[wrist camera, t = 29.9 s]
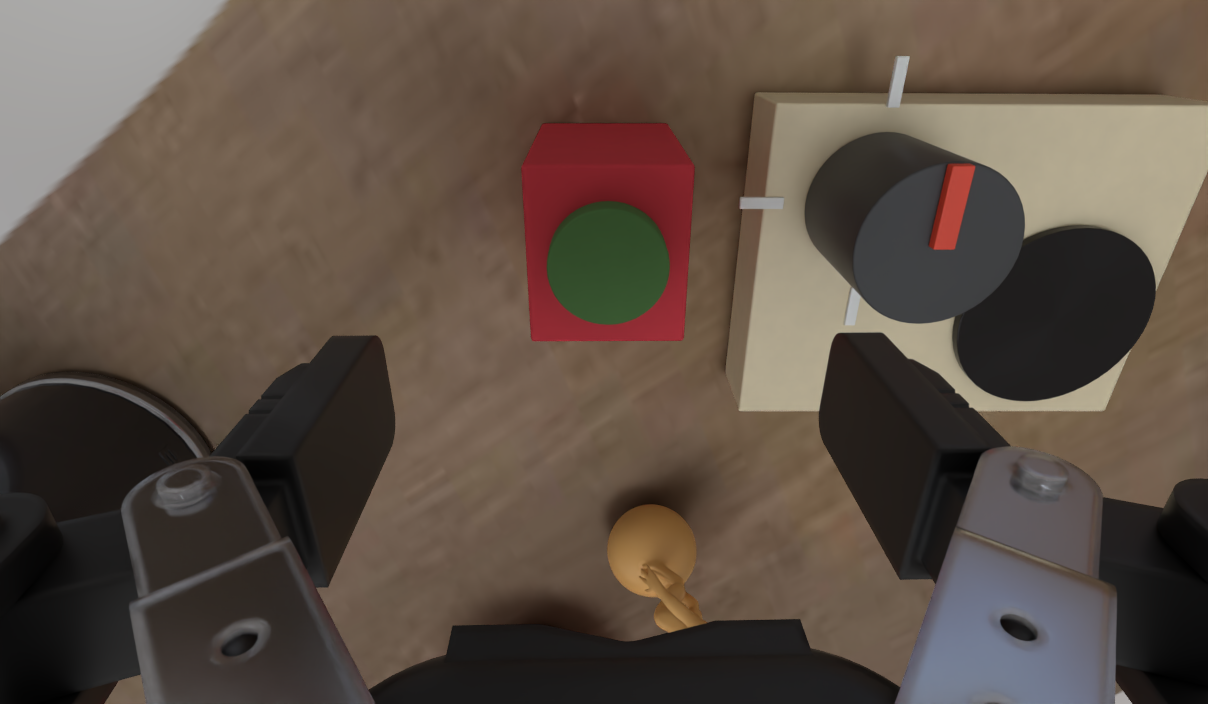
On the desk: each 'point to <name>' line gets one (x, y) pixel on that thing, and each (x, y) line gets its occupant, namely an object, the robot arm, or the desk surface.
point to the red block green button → (607, 232)
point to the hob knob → (914, 226)
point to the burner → (1057, 315)
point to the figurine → (656, 562)
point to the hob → (977, 132)
